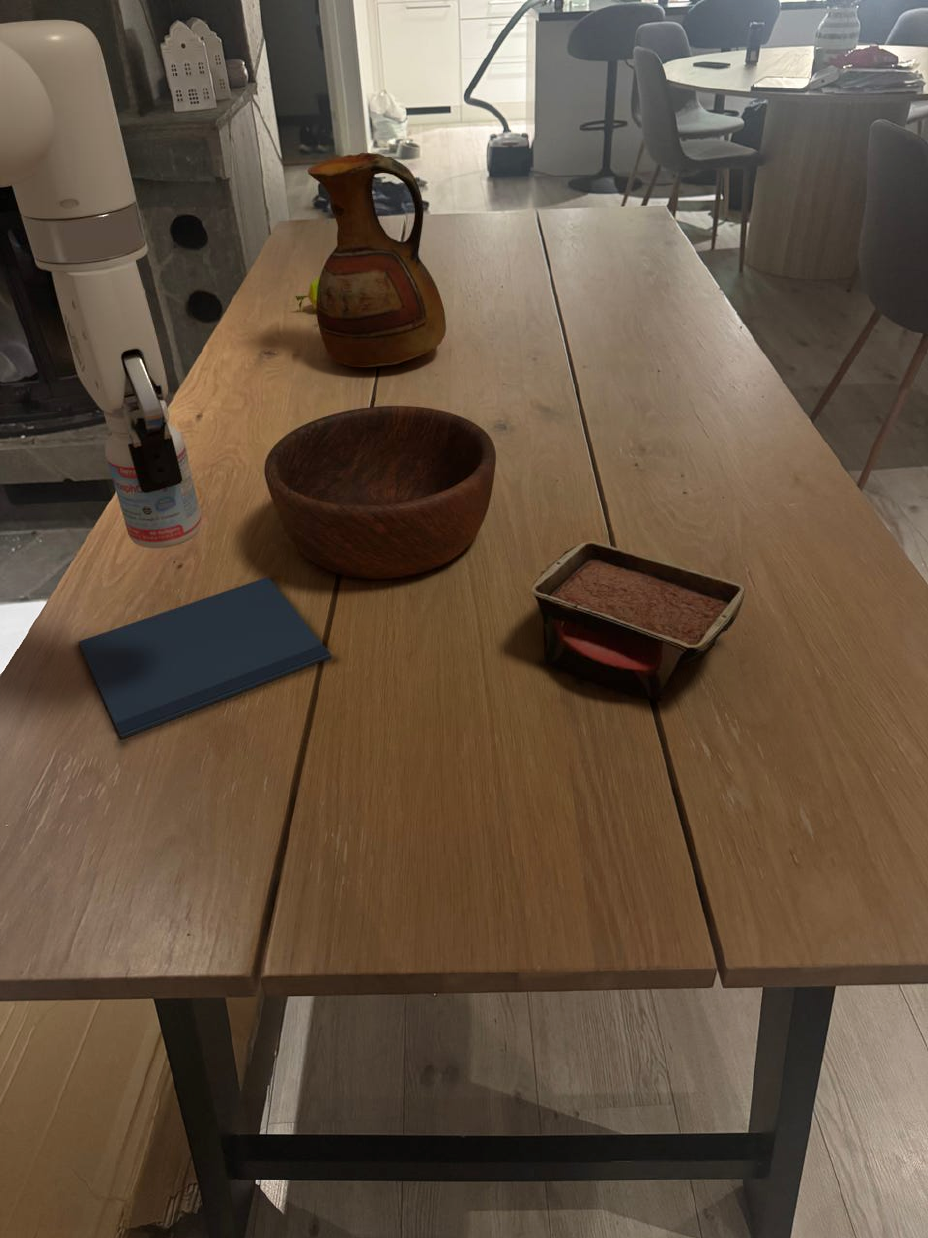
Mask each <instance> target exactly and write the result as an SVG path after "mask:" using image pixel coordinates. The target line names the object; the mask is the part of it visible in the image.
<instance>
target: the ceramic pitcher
mask: <svg viewBox="0 0 928 1238" xmlns="http://www.w3.org/2000/svg"><path fill="white" fill-rule="evenodd" d="M307 173H308V175H309V176H310V177H312V178H313V179H315V180H316V181H317V182H318V183H320V184H321V185H322V187H323V188H324V190H325V191H326V192H327V194H328V198H329V206H330V210H331V212H332V214H333V216H334V219H335V222H336V224H337V232H336V243H337V245H336V247H335V248H334V250H333V251H332V252H331V254H329V256H328V257H327V259H326V261H325V262H324V265H323V267H322V270H321V273H320V276H319V278H320V279H319V278H318V279H319V283H318V289H317V306H316V309H317V310H316V309H315V310H316V319H317V325H318V329H319V334H320V336H321V340H322V343H323V345H324V349H325V351H326V353H327V354H328V356H330V358H331V359H332V360H334V361H335V362H337V363H339V364H343V365H345V366H348V367H355V368H371V367H381V366H382V367H383V366H391V365H396V364H397V365H398V364H400V363H402V362H405V361H409V360H412V359H414V358H416V357H420V356H423V355H424V354H427V353H428V352H430V351H432V350H433V349H436V348H437V347H438V346H440V345H441V344H442V342H443V340H444V338H445V336H446V332H447V323H446V322H447V321H446V312H445V308H444V305H443V300H442V298H441V294H440V291H439V289H438V286H437V284H436V282H435V280H434V279H433V276H432V274H431V273H430V272H429V270H428V268H427V266H426V265H425V264H424V263H423V262H422V260H421V258H420V254H419V252H420V251H419V250H420V244H421V238H422V232H423V226H424V225H423V224H424V212H425V211H424V202H423V196H422V193H421V190H420V187H419V184H418V182H417V180H416V178H415V176H414V174H413V173H412V171H411V170H410V169H409V168H408V167H407V166H406V165H404V164H403V163H401V162H400V161H399V160H397V159H395V158H394V157H392V156H385V155H382V154H380V153H372V152H360V153H358V154H347V155H343V156H338V157H337V156H336V157H332V158H330V159H329V158H328V159H327V160H322V161H320V162H318V163H317V164H314V165H312V166H311V167H309V168H308V170H307ZM380 174H387V175H391V176H394V177H395V178H397V179H398V180H400V181H401V182H402V183H404V185H405V187H406V188H407V189H408V192H409V194H410V196H411V199H412V204H413V208H414V218H413V223H412V228H411V231H410V234H409V235H408V237H407V239H406V240H403V241H399V240H397V239H395V238H393V237H390V236H389V235H388V234H387V232H386V230H385V229H384V228H383V226H382V224H381V222H380V219H379V217H378V214H377V210H376V205H375V202H374V201H375V200H374V196H373V195H374V194H373V188H374V187H373V186H374V178H375V176H376V175H380Z"/></svg>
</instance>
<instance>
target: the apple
mask: <svg viewBox="0 0 928 1238" xmlns="http://www.w3.org/2000/svg"><path fill="white" fill-rule="evenodd" d="M319 279H320V277H319V278H317V279H315V280H313V281H311V283H310V286H309V290H308V293H307V295H294V298H295V299H296V301H297V302H298V301H300V302H299V304H298V307H299V309H300V310H301V309H302V304H303V301H304V299H306V298H308V299H309V301H310V303H311V305H312V307H313V309H314V310H316V311H317V309H316V306H317V289H318V283H319Z"/></svg>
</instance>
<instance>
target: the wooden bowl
mask: <svg viewBox="0 0 928 1238" xmlns="http://www.w3.org/2000/svg"><path fill="white" fill-rule="evenodd" d="M496 464H497V451H496V448H495V444H494V442H493V440H492V438H491V436H490V435H489V434H488V433H487V432H486V430H485V429H483V428H482V427H481V426H479V425H478V424H476V423H475V422H473V421H471V420H469V419H467V418H465V417H463V416H460V415H458V414H456V413H452V412H449V411H445V410H440V409H437V408H431V407H430V408H429V407H425V406H423V407H422V406H413V405H412V406H411V405H382V406H379V405H378V406H372V407H371V406H370V407H368V406H367V407H361V408H355V409H350V410H345V411H344V410H343V411H340V412H336V413H332V414H329V415H326V416H323V417H320V418H316V419H314V420H311V421H309V422H307V423H305V424H303V425H300V426H298V427H297V428H295V429H293V430H292V431H290V432H288V433H287V434H285V435H284V436H283V437H282V438H281V439H280V440H278V441H277V442H276V443H275V444H274V446H273V447H271V449H270V450H269V452H268V454H267V455H266V459H265V462H264V469H263V471H264V478H265V482H266V485H267V489H268V492H269V495H270V498H271V501H272V503H273V506H274V509H275V512H276V514H277V517H278V519H279V521H280V523H281V525H282V527H283V529H284V531H285V533H286V534H287V536H288V538H289V539H290V541H292V543H293V544H294V545H295V546H296V548H297V549H298V550H299V551H300V552H301V553H302V554H303V555H304V556H305V557H306V558H307V559H308V560H309V561H311V562H312V563H314V564H315V565H317V566H318V567H320V568H323V569H325V570H327V571H329V572H332V573H335V574H337V575H341V576H344V577H349V578H355V579H363V580H392V579H400V578H406V577H411V576H415V575H420V574H423V573H426V572H429V571H432V570H435V569H437V568H439V567H441V566H443V565H446V563H448V562H450V561H452V560H453V559H455V558H456V557H457V556H459V555H460V554H462V552H464V551H465V550H466V549H467V548H468V547H469V546H470V545H471V543H472V542H473V540H474V539H475V538H476V536H477V535H478V533H479V531H480V529H481V527H482V526H483V524H484V521H485V519H486V516H487V513H488V510H489V507H490V503H491V498H492V494H493V493H492V492H493V487H494V481H495V472H496Z"/></svg>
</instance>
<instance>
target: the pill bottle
mask: <svg viewBox="0 0 928 1238" xmlns="http://www.w3.org/2000/svg"><path fill="white" fill-rule="evenodd" d="M125 401H126V404H127V403H132V402H136V401H137V400H136V398H135V396H131V397H126V398H125ZM160 403H161V406H162V409H163V412H164V415H165V418H166V421H167V424H168V427H169V430H170V434H171V435H172V439H173V443H174V447H175V451H176V455H177V459H178V463H179V467H180V471H181V475H182V482H181V483H180V484H177V485H174V486H170V487H167V488H163V489H160V490H156V491H152V492H149V493H144V492H143V491H142V490H141V489H140V486H139V483H138V479H137V476H136V472H135V468H134V465H133V461H132V458H131V454H130V451H129V447H128V444H131V443H132V442H131V439H130V436H129V433H128V430H127V427H126V424H125V421H124V418H123V415H122V412H121V410H120V408H119V409H114V413H111V414H109V413H107V412H105V411H103V415H104V419H105V423H106V424H105V425H106V427H107V429H108V431H109V432H110V433H113V434H110V435H109V437H108V438H107V440H106V442H105V445H104V453H105V456H106V457H105V458H106V460H107V465H108V468H109V472H110V474H111V478H112V482H113V486H114V489H115V493H116V496H117V499H118V503H119V506H120V510H121V513H122V517H123V521H124V525H125V528H126V531H127V534H128V537H129V538H130V540H131V541H132V542H133V543H134V544H136V545H138V546H140V547H143V548H147V549H165V548H172V547H175V546H179V545H181V544H184V543H187V542H188V541H190V540H191V539H192V538H194V537H195V536H196V535H197V534H198V532H199V531H200V529H201V526H202V515H201V510H200V506H199V501H198V496H197V493H196V488H195V484H194V479H193V474H192V470H191V465H190V461H189V457H188V452H187V448H186V443H185V440H184V437H183V434H182V433H181V432H180V431H179V429H178V428H177V427H175V426H174V425H172V424H170V423H169V422H170V412H169V410H168V406H167V402H166V401H165V399H164V400H163V401H161V400H160ZM131 412H132V415H133V418H134V421H135V424H136V423H137V419H138V418H141V415H140V410H135V411H131Z"/></svg>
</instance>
